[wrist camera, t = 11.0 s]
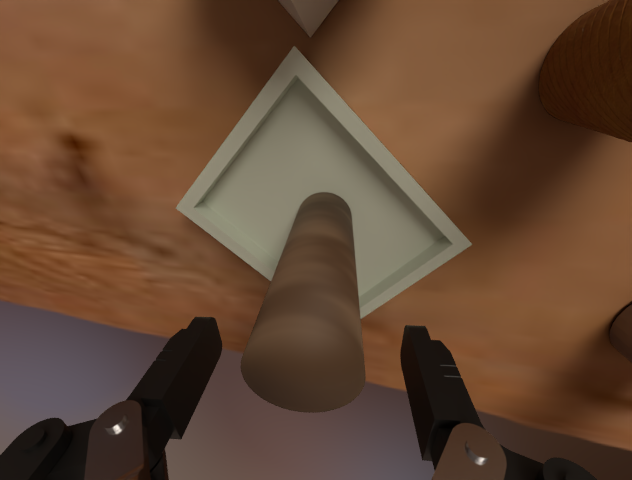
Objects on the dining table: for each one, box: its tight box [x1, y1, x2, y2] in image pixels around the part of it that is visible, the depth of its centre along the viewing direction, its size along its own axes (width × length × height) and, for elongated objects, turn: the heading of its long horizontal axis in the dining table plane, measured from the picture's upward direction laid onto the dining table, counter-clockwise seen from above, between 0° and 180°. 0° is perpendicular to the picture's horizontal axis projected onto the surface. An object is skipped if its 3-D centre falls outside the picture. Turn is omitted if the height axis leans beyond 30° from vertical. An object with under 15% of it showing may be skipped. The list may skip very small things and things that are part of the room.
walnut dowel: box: [241, 192, 365, 412], centre depth 16 cm, size 4×4×14 cm
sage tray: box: [176, 46, 472, 318], centre depth 22 cm, size 18×14×2 cm
